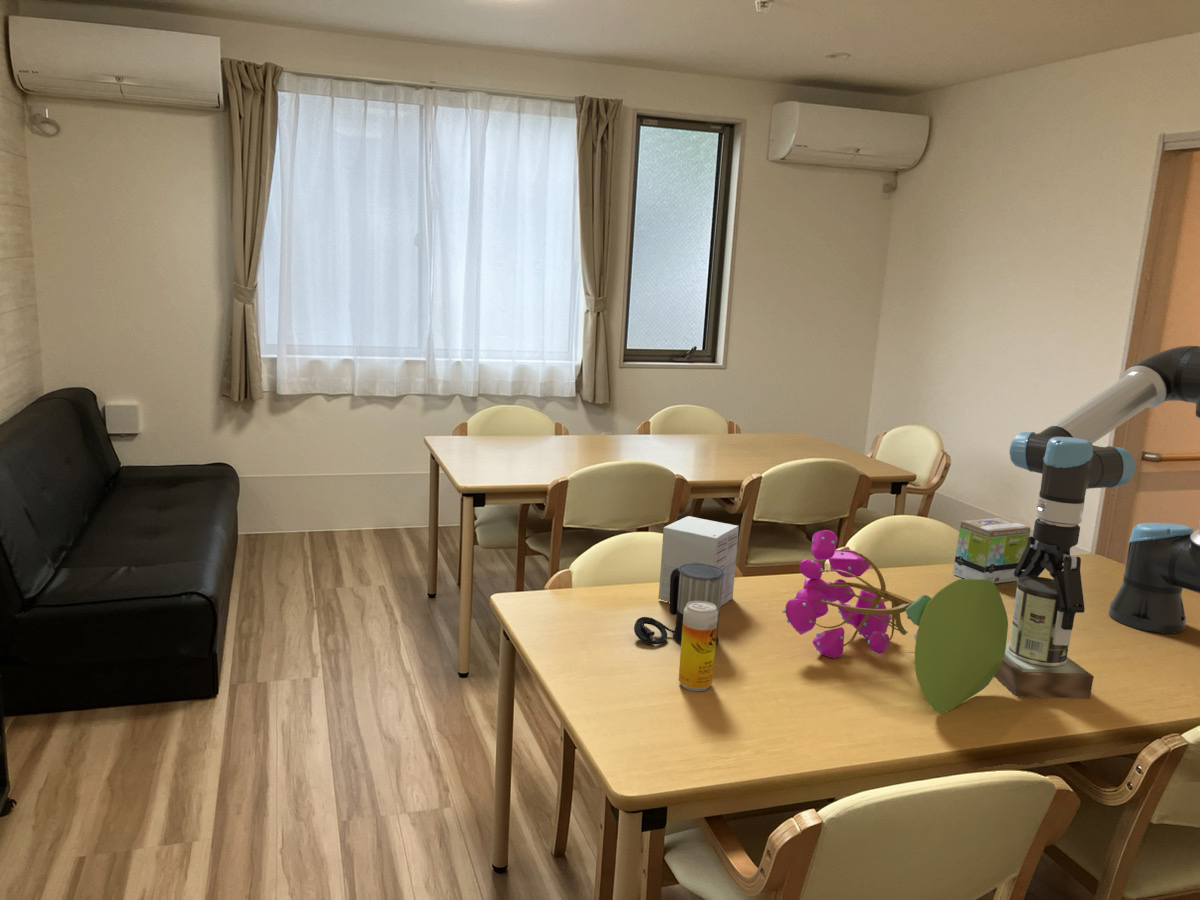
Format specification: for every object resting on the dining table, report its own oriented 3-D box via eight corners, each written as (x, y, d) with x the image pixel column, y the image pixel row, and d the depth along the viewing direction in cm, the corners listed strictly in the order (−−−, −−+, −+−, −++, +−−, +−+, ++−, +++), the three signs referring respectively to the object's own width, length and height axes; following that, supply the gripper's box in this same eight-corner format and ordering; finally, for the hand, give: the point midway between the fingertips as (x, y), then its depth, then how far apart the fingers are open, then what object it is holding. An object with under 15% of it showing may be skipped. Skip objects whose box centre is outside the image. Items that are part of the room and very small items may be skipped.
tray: (1049, 666, 180) (1052, 642, 179) (1089, 698, 166) (1094, 673, 165) (980, 664, 179) (983, 640, 178) (1015, 696, 165) (1019, 670, 164)
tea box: (983, 587, 227) (991, 530, 224) (951, 574, 236) (958, 519, 233) (1023, 580, 234) (1032, 525, 231) (991, 569, 243) (998, 515, 240)
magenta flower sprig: (929, 542, 153) (778, 520, 182) (902, 711, 151) (753, 661, 179) (1025, 564, 170) (873, 541, 199) (1002, 716, 168) (851, 671, 196)
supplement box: (734, 598, 209) (740, 525, 205) (710, 615, 198) (717, 538, 194) (682, 586, 215) (687, 515, 212) (656, 601, 204) (662, 526, 201)
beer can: (703, 695, 159) (709, 614, 156) (672, 686, 162) (678, 606, 159) (717, 683, 164) (724, 605, 161) (687, 674, 167) (693, 597, 164)
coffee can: (1057, 648, 176) (1068, 579, 173) (1073, 670, 166) (1085, 597, 163) (1001, 641, 178) (1011, 573, 175) (1014, 662, 168) (1024, 590, 165)
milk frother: (728, 641, 184) (734, 571, 181) (678, 661, 172) (684, 587, 170) (674, 620, 193) (679, 553, 190) (624, 638, 182) (628, 568, 179)
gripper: (1005, 503, 179) (990, 605, 183) (1076, 540, 154) (1057, 656, 158) (1041, 505, 179) (1026, 606, 183) (1118, 541, 155) (1099, 658, 159)
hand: (1041, 630), depth 171 cm, fingers open, 13 cm apart
